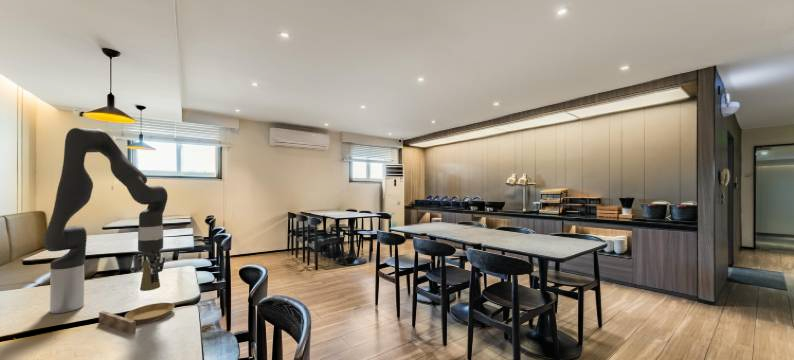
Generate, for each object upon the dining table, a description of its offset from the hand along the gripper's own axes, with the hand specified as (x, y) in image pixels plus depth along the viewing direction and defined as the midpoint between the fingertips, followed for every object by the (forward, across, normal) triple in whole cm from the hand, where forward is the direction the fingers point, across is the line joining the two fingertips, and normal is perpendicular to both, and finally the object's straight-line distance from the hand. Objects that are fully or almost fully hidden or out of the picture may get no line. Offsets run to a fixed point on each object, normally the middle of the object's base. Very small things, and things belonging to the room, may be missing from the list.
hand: (150, 282), depth 115 cm
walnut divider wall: (+13, -1, -10) cm, 17 cm away
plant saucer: (+14, 0, 0) cm, 14 cm away
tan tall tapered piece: (+2, 0, 0) cm, 2 cm away
